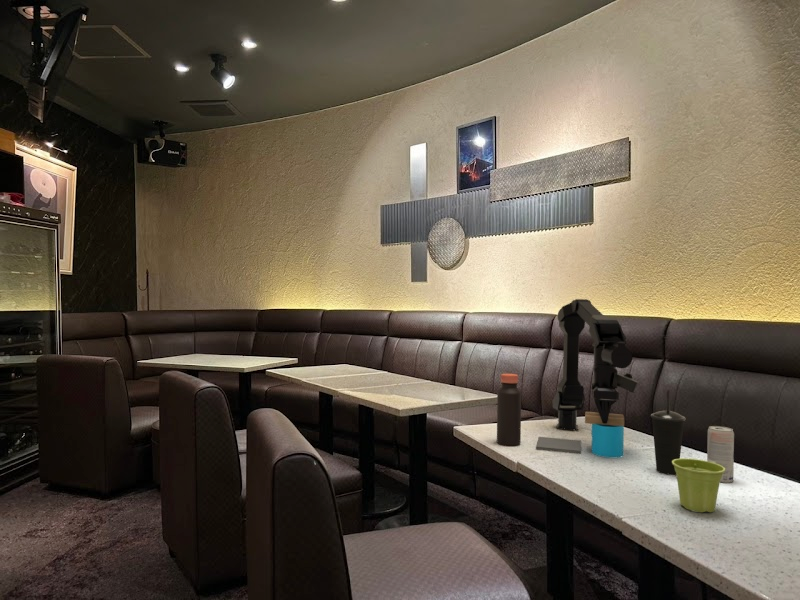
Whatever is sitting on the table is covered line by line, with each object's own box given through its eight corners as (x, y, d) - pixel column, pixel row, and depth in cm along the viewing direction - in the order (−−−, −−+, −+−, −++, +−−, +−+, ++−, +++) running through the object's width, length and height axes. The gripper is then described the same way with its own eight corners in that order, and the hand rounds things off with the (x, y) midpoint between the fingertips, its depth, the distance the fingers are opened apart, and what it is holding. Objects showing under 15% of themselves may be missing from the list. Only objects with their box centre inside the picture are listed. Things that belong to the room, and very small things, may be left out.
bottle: (492, 442, 157) (492, 374, 158) (506, 439, 162) (507, 372, 162) (511, 447, 152) (512, 376, 153) (525, 443, 157) (526, 375, 157)
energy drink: (729, 477, 129) (729, 426, 129) (736, 484, 124) (737, 431, 124) (704, 474, 131) (704, 425, 131) (710, 481, 125) (711, 430, 125)
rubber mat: (538, 439, 162) (538, 436, 162) (580, 443, 159) (580, 440, 159) (535, 449, 151) (535, 446, 151) (581, 453, 147) (581, 450, 147)
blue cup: (629, 457, 145) (630, 426, 145) (601, 458, 144) (601, 427, 144) (605, 445, 157) (605, 417, 157) (579, 446, 155) (579, 418, 155)
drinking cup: (653, 475, 130) (654, 391, 130) (647, 465, 137) (648, 387, 137) (688, 477, 128) (689, 393, 128) (680, 468, 135) (681, 388, 135)
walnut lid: (585, 418, 155) (585, 411, 155) (623, 421, 151) (623, 414, 151) (585, 423, 149) (585, 415, 149) (624, 426, 145) (624, 419, 145)
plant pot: (677, 495, 116) (677, 455, 116) (728, 507, 110) (728, 464, 110) (666, 508, 108) (666, 465, 109) (720, 520, 102) (720, 475, 103)
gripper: (640, 369, 139) (639, 430, 139) (632, 362, 157) (632, 415, 157) (594, 367, 142) (593, 426, 142) (592, 360, 160) (591, 412, 160)
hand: (603, 420), depth 150 cm, fingers open, 8 cm apart
